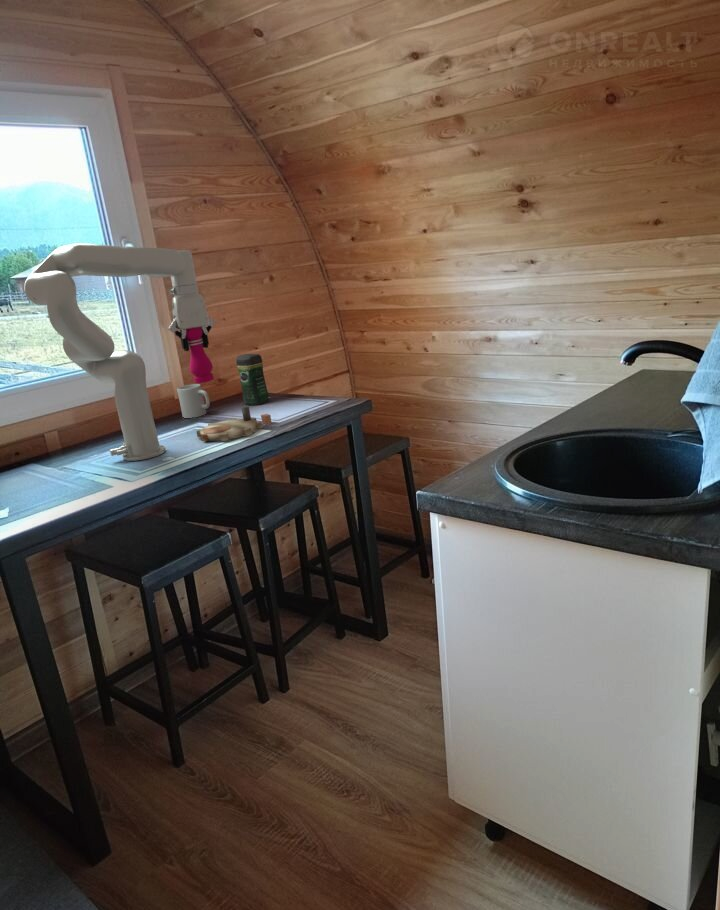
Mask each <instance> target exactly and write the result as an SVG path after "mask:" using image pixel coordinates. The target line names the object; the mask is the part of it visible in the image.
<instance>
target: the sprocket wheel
mask: <svg viewBox="0 0 720 910" xmlns="http://www.w3.org/2000/svg"><path fill="white" fill-rule="evenodd" d="M250 410H251V409H250V407H249V406H244V407H242V408H241V413H242V418H237V417H235V418H230V419H228V420H222V421H218V422H212V423H208V424H207V425H206V426H204V427H203V428H201V429H196V431H195V432H196V437H197V438H200V441H201V442H208V441H210V442H211V441H214V442H215V441H221V442H225V441H227V442H228V441H229V440H232V439H236V438H241V437H244V436H246V437H248V436H250V435H253V433H255V432H256V431H258V430H261V429H263V424H262V420H259V421H258V420H257V418H256V417H252V416H251V412H250Z"/></svg>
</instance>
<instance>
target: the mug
mask: <svg viewBox="0 0 720 910" xmlns="http://www.w3.org/2000/svg"><path fill="white" fill-rule="evenodd" d="M176 391H177V395H178V400H179V404H180V409H181V414H182V415H181V416H182V418H183V417H184V418H192V417H198V416H201V415H204V414H206V415H207V410H206V409H208V408H210V397H209V394H208V392H207V391H206V390H203V389H202V387H201V383H192V384H187V385H182V386H179V387H177V388H176ZM204 398H205V401H204ZM204 416H205V415H204ZM184 418H183V419H184Z"/></svg>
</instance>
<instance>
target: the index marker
mask: <svg viewBox="0 0 720 910" xmlns="http://www.w3.org/2000/svg"><path fill="white" fill-rule="evenodd" d="M260 416H261V417H260V418H261V424H262V425H264V424H265V426H268V424H269V425H272V424H271V423H273V422H272V417H271V414H268V413H264V414H261V415H260Z"/></svg>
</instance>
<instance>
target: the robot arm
mask: <svg viewBox="0 0 720 910" xmlns="http://www.w3.org/2000/svg"><path fill="white" fill-rule="evenodd" d="M142 275H145V276H147V277H149V278H153V279H160V278H162V279H163V278H167V277H170V280H171V285H172V287H171V289H169V290H168V293H169V295H173V297H172V316H173V320H172V321H171V323H170V325H169V327H168V331H169V332H171V333H172V334H173V335H175V336H176V337H178V338H179V339H180V343H181V348H182V350H183V351H184V352H189V351H190V347H189V345H188V339H187V338H186V330H187V329H190V328H197V327H201V329H202V332H203V333H202V336H201V338H202V339H203V343H202V345H203V349H204V348H205V349H207V348H209V345H210V343H209V337H208V335H209V332H210V331H211V329H212V327H213V326H214V325H215V323H216V321H215V320H214V319H213V318H211V316H210V315H208V310H207V306H206V303H205V300H204V297H203V295H202V293H199V289H198V283H197V276H196V270H195V264H194V259H193V254H192V252H191V251H190V250H188V249H182V250H175V249H171V248H163V247H143V246H141V247H138V246H119V245H118V246H117V245H106V244H95V243H93V244H92V243H84V242H83V243H82V242H81V243H71V244H67V245H62V246H59V247H58V248H55V249H54V250H53V251H52V252H51V253H50V254H49V255H48V256H47V257H46V258H45V259H44V260H43V261H42V262H41V263H40V264H39V265H38V266H37V267H36V268H35V269H34V270H33V271H32V272H31V273H30V274H29V275H28V277H27V278H26V280H25V282H24V287H23V289H24V290H23V291H24V293H25V296H26V297H27V299H28V300H29V301H30V302H31V303H33V304H35V305H38V306H46V309H47V314H48V315H47V316H48V318H49V322H50V324H51V326H52V328H53V329H54V331H55V332H56V333H57V334H59V335H60V337H62V349H63V351H64V353H65V355H66V356H67V358H69V360H71V362H72V363H74V364H75V365H76V366H78V367H79V368H81V369H82V370H83V371H85V372H86V373H87V374H88V375H90V377H93V378H94V379H96V380H97V381H99V382H101V383H105V384H114V401H115V406H116V410H117V416H118V419H119V424H120V428H121V432H122V436H123V440H124V442H122V445H120V446H119V447H117V448H116V447H115V448H112V449H109V453H110V455H111V457H114V456H122V458H123V460H124V461H128V462H135V461H136V462H138V461H142V460H143V461H144V460H148V459H151V458H155V457H157V456H161V455H163V454H164V453H165V452H166V450H167V449H166V446H165V445H162V444H160V441H159V438H158V437H159V436H158V433H157V428H156V423H155V420H154V415H153V410H152V406H151V403H150V398H149V393H148V388H147V387H148V386H147V378H146V376H147V374H146V372H147V371H146V365H145V362H144V360H143V358H142V357H141V355H139V354H138V353H137V352H134V351H133V350H124V349H123V350H122V349H121V350H115V348H116V347H115V342H114V340H113V338H112V336H110V334H108V333H107V332H106V331H105V330H104V329H102V328H101V327H100V326H99V325H98V324H97V323H95V322H94V321H93V320H91V319H90V318H89V317H88V316H87V315H86V314H85V313H84V312H83V311H82V310H81V309H80V307H79V305H78V300H77V286H76V283H75V280H74V279H73V278H74V277H80V276H89V277H90V276H91V277H94V276H95V277H113V278H114V277H115V278H127V277H128V278H129V277H136V276H142Z"/></svg>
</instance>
